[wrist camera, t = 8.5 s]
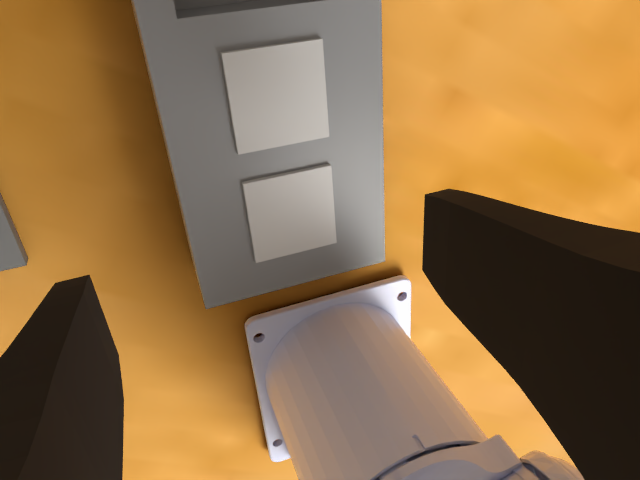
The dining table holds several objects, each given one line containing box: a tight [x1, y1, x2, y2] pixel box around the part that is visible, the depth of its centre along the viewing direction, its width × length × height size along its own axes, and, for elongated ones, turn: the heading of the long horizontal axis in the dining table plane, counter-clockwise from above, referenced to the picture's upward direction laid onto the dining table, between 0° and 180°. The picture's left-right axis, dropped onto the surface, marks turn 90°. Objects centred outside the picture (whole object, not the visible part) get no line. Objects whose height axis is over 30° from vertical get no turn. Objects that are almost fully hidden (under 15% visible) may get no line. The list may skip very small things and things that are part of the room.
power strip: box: [131, 0, 385, 309], centre depth 16 cm, size 18×7×3 cm, turn 4°
